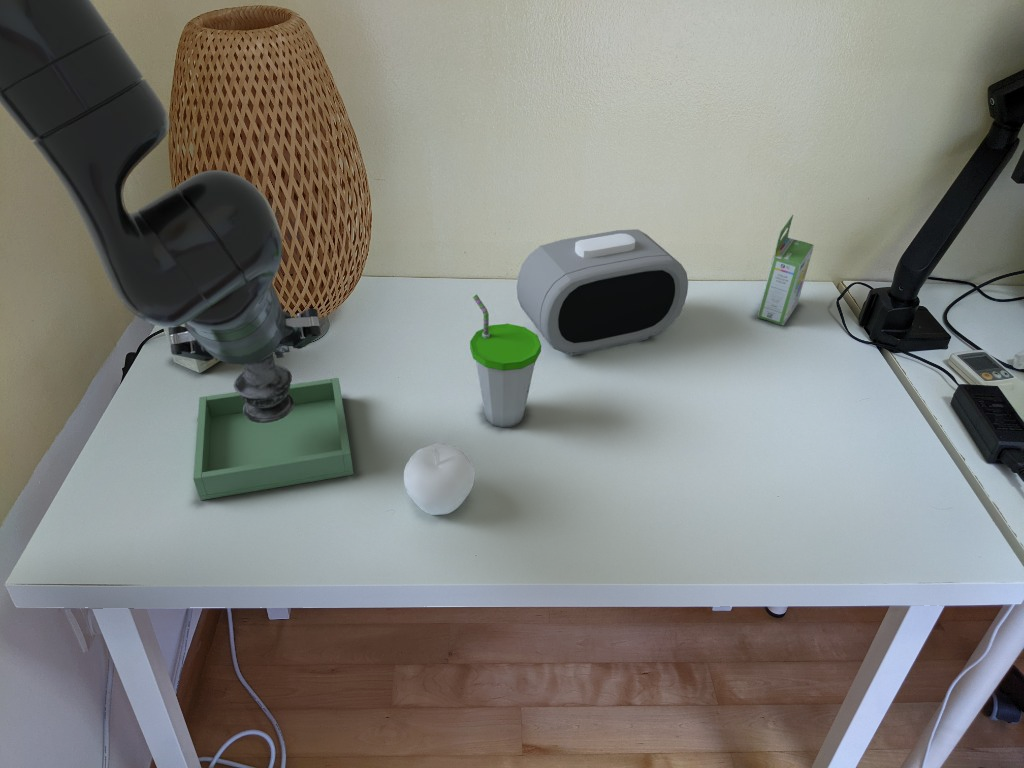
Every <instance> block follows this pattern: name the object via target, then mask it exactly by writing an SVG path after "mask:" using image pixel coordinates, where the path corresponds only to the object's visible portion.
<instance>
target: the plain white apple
mask: <svg viewBox="0 0 1024 768" xmlns="http://www.w3.org/2000/svg"><path fill="white" fill-rule="evenodd" d="M475 473H476V472H475V468H474V464H473V462H472V460H471V459H470V457H469V456H468V455H467V454H466V453H465V451H464V450H463V449H461V448H459V447H456V446H454V445H450V444H447V443H440V442H439V443H433V444H430V445H427V446H424V447H421V448H418V449H417V450H416V451H415V452H414V453H413V454H412V455H411V456H410V458H409V460H407V463H406V465H405V467H404V470H403V484H404V488H405V491H406V493H407V495H408V496H409V497H410V499H412V501H413V502H414V503H415V504H416V505H417V506H418V508H419V509H421V510H422V511H423V512H424V513H426V514H428V515H431V516H437V515H448V514H450V513H452V512H454V511H455V510H457V509H458V508H459V507H460V506H461V505H462V503H463V502H464V501H465V500H466V498H467V497H468V495H469V494H470V493H471V491H472V489H473V486H474V483H475V475H476V474H475Z"/></svg>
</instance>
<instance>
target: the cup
mask: <svg viewBox="0 0 1024 768" xmlns="http://www.w3.org/2000/svg"><path fill="white" fill-rule="evenodd" d="M472 298H473V300H474V302H475V303H476V305H477V306H478V307H479V309H480V310H481V312H482V314H483V328H481V329H480V330H477V331H475V333H474V335H473V336H472V338H471V339H470V341H469V350H470V353H471V355H472V359H473V360H474V361H475V364H476V365H475V366H476V370H477V377H478V382H479V389H480V396H481V400H482V406H483V412H484V413H483V414H484V417H485V420H486V421H487V422H488V423H489V424H490V425H492V426H493V427H499V428H511V427H514V426H516V425H518V424H520V423H522V421H523V418H524V416H525V411H526V407H527V401H528V397H529V393H530V389H531V385H532V384H531V382H532V378H533V374H534V369H535V364H536V362H537V360H538V358H539V356H540V354H541V352H542V343H541V340H540V339H539V336H538V334H537V333H535V332H534V331H531V329H529V328H527V327H525V326H521V325H515V324H511V323H501V324H492V325H489V324H490V323H489V322H490V321H489V320H490V317H489V316H490V315H489V311H488V309H487V307H486V306H485V304H484V303H483V301H482V300H481V299H480V297H479V296H478V294H477V293H476V294H474V295H473V296H472Z"/></svg>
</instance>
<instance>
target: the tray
mask: <svg viewBox="0 0 1024 768" xmlns="http://www.w3.org/2000/svg"><path fill="white" fill-rule="evenodd" d="M288 395H290V396H291V397H292V398H293V400H294V408H293V410H292V411H291V412H290V413H289V414H288V415H287V416H285V417H284V418H282V419H280V420H278V421H274V422H269V423H257V422H253V421H251V420H249V419H247V418H246V417H245V416H244V413H243V407H244V405H245V403H246V402H245V401H244V400H243V399H242V398H241V397H240V395H239V394H238V393H237V392H236V391H235V392H234V391H233V392H225V393H219V394H212V395H205V396H199V398H198V410H197V423H196V437H195V448H194V449H195V450H194V465H193V478H192V480H193V483H194V485H195V489H196V492H197V496H198V498H199V501H204V500H211V499H215V498H216V499H217V498H223V497H229V496H233V495H240V494H247V493H253V492H258V491H264V490H269V489H270V490H271V489H276V488H281V487H282V488H283V487H288V486H294V485H300V484H305V483H306V484H307V483H311V482H318V481H324V480H330V479H336V478H341V477H348V476H352V475H353V476H354V470H353V469H354V468H353V467H354V466H353V460H352V454H351V453H352V452H351V448H350V447H351V445H350V441H349V434H348V429H347V422H346V415H345V410H344V404H343V403H344V401H343V397H342V390H341V384H340V378H339V377H334V378H327V379H318V380H312V381H304V382H298V383H290V389H289V392H288Z"/></svg>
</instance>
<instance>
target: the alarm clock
mask: <svg viewBox="0 0 1024 768" xmlns="http://www.w3.org/2000/svg"><path fill="white" fill-rule="evenodd" d="M688 290H689V279H688V273H687V271H686V269H685V268H684V266H683V264H682V263H681V262H680V261H679V260H677V259H676V258H675V256H674V257H673V256H672V255H671V254H670V253H669V252H668V251H667V250H666V249H664V248H663V247H662V246H661V245H660V244H658V242H656V241H655V240H654V239H653V238H652V237H650V236H649V235H648V234H647V233H646V232H643V231H641V230H640V229H638V228H637V229H617V230H611V231H605V232H599V233H594V234H593V233H592V234H587V235H582V236H576V237H569V238H564V239H559V240H555V241H552V242H549V243H545V244H542V245H539V246H538V247H537V248H535V249H534V250H533V251H531V252H530V253H529V254H528V255H527V257H526V258H525V260H524V261H523V262H522V264H521V266H520V270H519V272H518V275H517V280H516V296H517V301H518V303H519V306H520V308H521V310H523V312H524V314H525V315H526V316H527V317H528V319H529V320H530V321H531V322H532V323H533V325H534V326H535V328H536V329H537V330H538V331H539V333H540V335H542V337H543V338H544V340H545V341H546V342H547V343H548V344H549V345H550V347H551V348H553V349H554V350H555V351H558V352H561V353H564V354H570V355H571V356H572V357H573V356H577V355H578V356H579V355H582V354H587V353H590V352H595V351H600V350H606V349H609V348H610V349H611V348H614V347H618V346H622V345H627V344H632V343H637V342H641V341H645V340H649V338H650V337H652V336H654V335H657V334H660V333H663V332H664V331H665V330H666V329H668V328H669V327H670V326H671V325H672V324H674V322H675V321H676V320H677V318H678V317H680V315H681V313H682V310H683V308H684V306H685V303H686V299H687V296H688V292H689V291H688Z"/></svg>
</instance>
